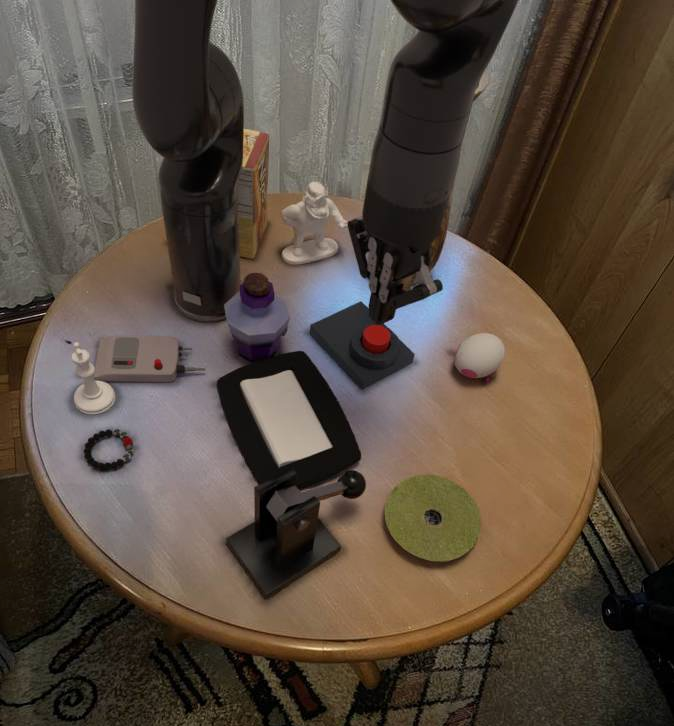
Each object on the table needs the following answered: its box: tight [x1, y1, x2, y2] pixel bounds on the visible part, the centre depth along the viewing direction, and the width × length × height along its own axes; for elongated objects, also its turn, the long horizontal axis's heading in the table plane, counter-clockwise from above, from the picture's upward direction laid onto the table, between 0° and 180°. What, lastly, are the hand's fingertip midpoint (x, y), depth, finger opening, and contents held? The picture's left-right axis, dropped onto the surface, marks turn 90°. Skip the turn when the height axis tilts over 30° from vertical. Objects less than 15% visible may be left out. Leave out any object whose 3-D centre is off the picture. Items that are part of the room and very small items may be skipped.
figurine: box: [280, 181, 348, 266], centre depth 96 cm, size 9×7×12 cm
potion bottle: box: [224, 272, 291, 363], centre depth 84 cm, size 9×9×12 cm
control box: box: [309, 300, 415, 390], centre depth 89 cm, size 12×9×4 cm
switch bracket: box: [225, 467, 342, 600], centre depth 68 cm, size 10×8×12 cm
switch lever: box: [266, 469, 367, 521], centre depth 68 cm, size 13×3×3 cm, turn 127°
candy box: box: [237, 128, 270, 260], centre depth 95 cm, size 9×4×15 cm, turn 171°
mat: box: [384, 473, 482, 562], centre depth 76 cm, size 11×11×2 cm
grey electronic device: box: [93, 334, 206, 383], centre depth 84 cm, size 7×16×3 cm, turn 94°
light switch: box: [216, 350, 362, 491], centre depth 81 cm, size 20×3×14 cm
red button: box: [362, 325, 391, 354], centre depth 87 cm, size 4×4×2 cm
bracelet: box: [83, 428, 135, 471], centre depth 77 cm, size 6×6×1 cm
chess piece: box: [71, 341, 116, 415], centre depth 77 cm, size 5×5×10 cm
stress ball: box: [452, 331, 506, 383], centre depth 89 cm, size 8×8×7 cm
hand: (379, 318), depth 72 cm, fingers closed
